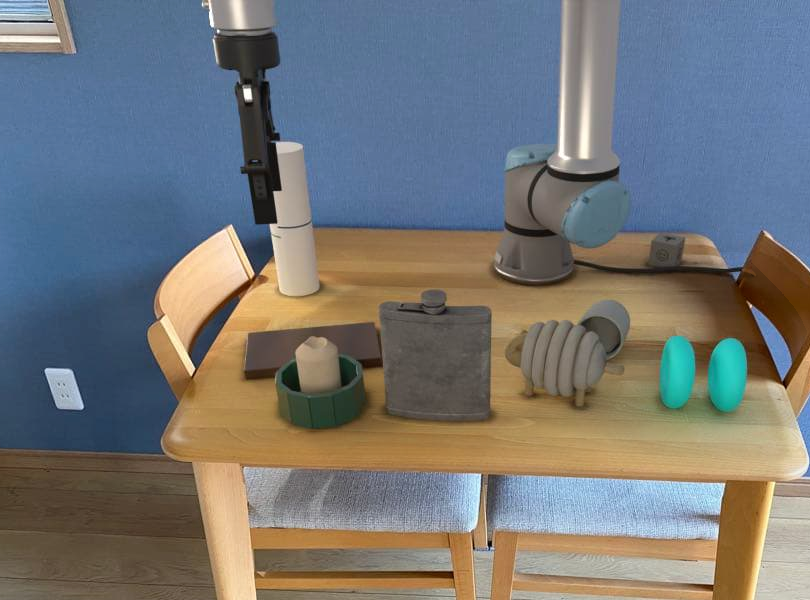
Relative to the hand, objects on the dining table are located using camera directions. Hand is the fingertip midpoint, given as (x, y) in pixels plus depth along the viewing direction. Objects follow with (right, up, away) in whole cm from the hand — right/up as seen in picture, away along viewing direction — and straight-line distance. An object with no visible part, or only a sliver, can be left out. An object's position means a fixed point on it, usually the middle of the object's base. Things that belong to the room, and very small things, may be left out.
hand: (269, 206), depth 101 cm
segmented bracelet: (+7, -27, +4) cm, 28 cm away
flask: (+23, -28, +2) cm, 36 cm away
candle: (+7, -27, +4) cm, 28 cm away
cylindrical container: (-4, -6, +36) cm, 37 cm away
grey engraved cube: (+65, +1, +46) cm, 79 cm away
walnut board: (+3, -19, +16) cm, 25 cm away
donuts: (+59, -27, +4) cm, 64 cm away
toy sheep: (+40, -25, +6) cm, 48 cm away
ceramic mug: (+46, -18, +17) cm, 52 cm away
